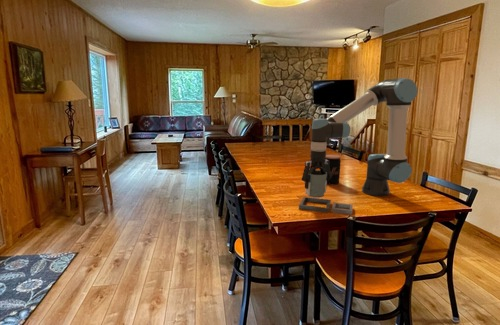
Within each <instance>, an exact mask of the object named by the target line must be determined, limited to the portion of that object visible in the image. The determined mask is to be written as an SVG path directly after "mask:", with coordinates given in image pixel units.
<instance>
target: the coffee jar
mask: <svg viewBox="0 0 500 325" xmlns="http://www.w3.org/2000/svg"><path fill="white" fill-rule="evenodd" d="M341 159H342V156H341V155H338V154H326V158H325V160H329V161H330V172H331V179H329V181H328V183H327V186H328V185H329V186H334V185H335V186H336V185H338V184H339V183H340V175H341V164H342V161H341ZM324 167H325V163H324Z"/></svg>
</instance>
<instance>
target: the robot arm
mask: <svg viewBox="0 0 500 325" xmlns="http://www.w3.org/2000/svg"><path fill="white" fill-rule="evenodd" d="M417 96H418V87H417V83H416V82H414V80H413V79H411V78H406V77H405V78H404V77H403V78H402V77H401V78H392V79H389V78H388V79H384V80H381V81H380V82H378V83H376V84H374V86H371V87H370V88H369V89H367V90H366V91H365V93H364V94H363V95H361V96H359V97H358V98H356V99H355V100H353V101H351V102H350V103H349V104H347V105H345V106H344V107H342V108H341V109H340V110H338V111H336V112H335V113H333V114H332V115H330V116H328V117H327V118H314V119H312V124H311V137H310V140H311V141H310V154H309V155H310V161H309V160H308V161H305V162H304V169H303V172H302V176H301V181H302V182H304V189H305V195H307V196H308V195H310V182H309V181H310V175H308V173H309V174H313V173H314V171H315V170H318V169H319V170H320V171H321V173H322V175H324V174H325V173H326V172H327V177H326V183H325V192H324V194H326V193H327V186H328V184H327V183H328V181H329V179H331V172H330V161H329V160H325V158H326V155H327V151H326V150H327V142H328V139H343V138H344V139H345V138H348V137H349V136H350V133H351V126H350V124H349V123H348V122H349V121H351V120H352V119H354V118H355V117H357V116H358V115H360V114H361V113H363V112H365V111H366V110H368V109H369V108H371V107H372V106H375V107H376V106H377V105H379V104H381V103H384V102H386V103H385V104H386V106H385V107H387V108H388V110H389V111H388V127H387V129H388V130H387V142H386V143H387V147H386V148H387V149H386V153H373V154H371V153H370V154H369V155H368V157H367V165H366V177H365V181H364V182H363V185H362V189H361V191H362V193H364V194H367V195H369V196H377V197H385V196H388V195H390V191H391V190H390V189H391V188H390V186H389V182H388V181H390V182H392V183H397V184H401V183H404V182H406V181H408V179H409V178H410V176H411V174H412V166H411V164H410V163H408V156H407V155H406V153H405V150H406V139H407V138H406V137H407V124H408V122H407V121H408V120H407V119H408V109H409V108H410V107H411V106H412V102H413V101H414V100H415V98H416V97H417ZM324 163H325V167H324Z"/></svg>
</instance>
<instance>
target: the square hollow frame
mask: <svg viewBox="0 0 500 325" xmlns="http://www.w3.org/2000/svg"><path fill="white" fill-rule="evenodd" d="M306 202H308V203H309V202H310V203H318V204H326V207H325V206H324V207H323V206H315V205H305V203H306ZM331 204H332V199H326V198H320V197H319V198H316V197H310V196H304V197H302V199H301V201H300V203H299V205H298V210H303V211H311V212H319V213H320V212H321V213H327V214H328V213H329V212H330V208H331Z"/></svg>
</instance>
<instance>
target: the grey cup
mask: <svg viewBox="0 0 500 325" xmlns="http://www.w3.org/2000/svg"><path fill="white" fill-rule="evenodd" d="M308 175H310V181H309V182H310V195H307V197H310V198H319V199H320V198H323V197H324V196H325V193H324V192H325V183H326V177H327V172H326V173H325V174H324V175H322V173H321V171H320V169H319V170H318V169H316V170H315V171H314V173H313V174H309V173H308Z"/></svg>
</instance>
